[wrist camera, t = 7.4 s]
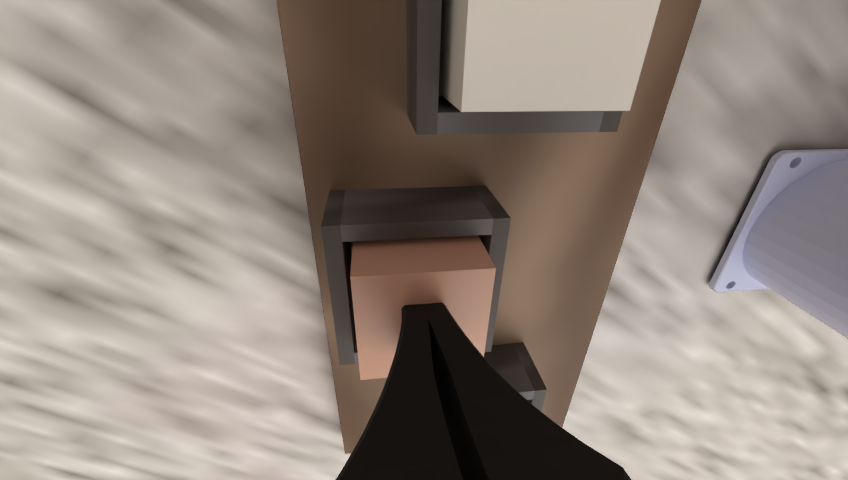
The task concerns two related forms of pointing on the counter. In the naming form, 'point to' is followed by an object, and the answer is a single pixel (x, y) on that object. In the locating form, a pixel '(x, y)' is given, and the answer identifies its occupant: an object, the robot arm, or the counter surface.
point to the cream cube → (543, 53)
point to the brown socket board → (465, 184)
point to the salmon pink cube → (416, 291)
